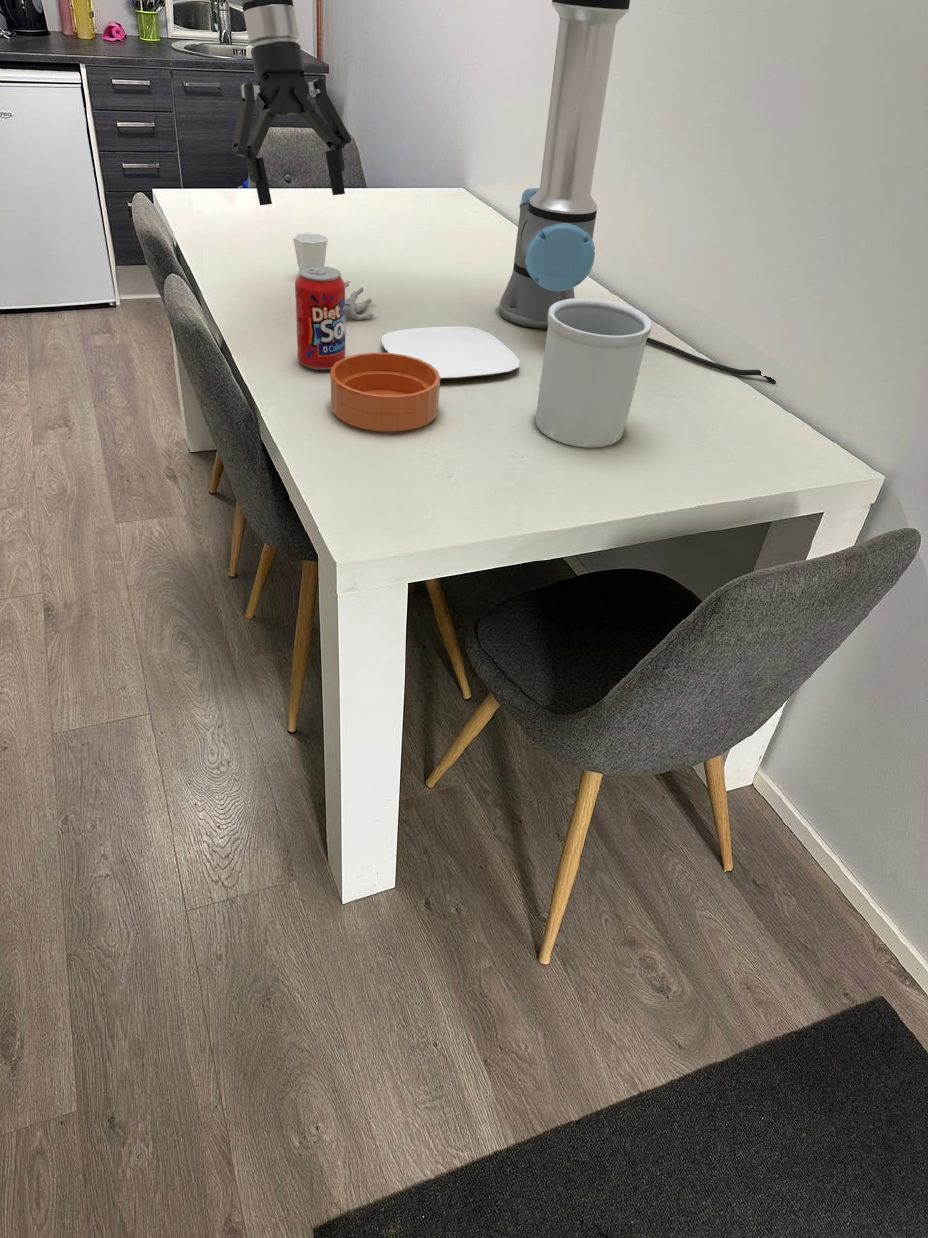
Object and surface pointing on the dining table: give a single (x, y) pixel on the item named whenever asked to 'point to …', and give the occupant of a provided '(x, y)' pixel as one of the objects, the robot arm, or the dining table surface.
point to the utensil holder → (590, 370)
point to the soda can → (320, 317)
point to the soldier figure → (353, 308)
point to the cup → (310, 249)
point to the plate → (453, 350)
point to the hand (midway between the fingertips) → (303, 199)
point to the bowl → (384, 391)
